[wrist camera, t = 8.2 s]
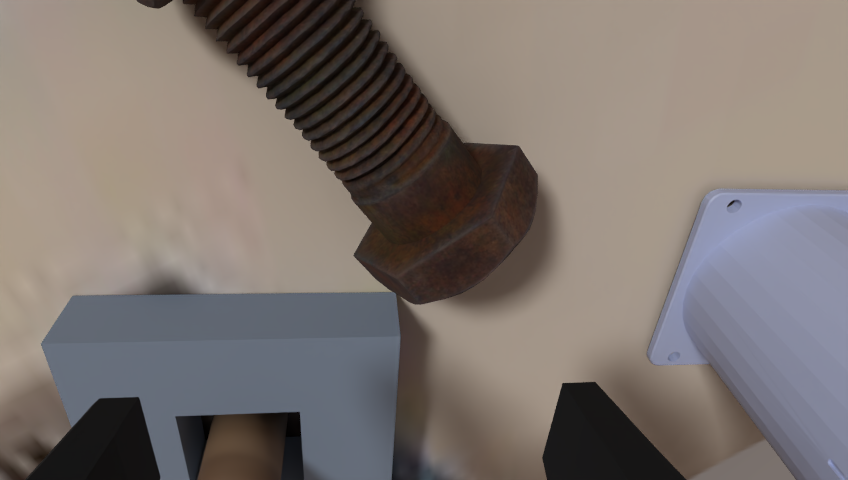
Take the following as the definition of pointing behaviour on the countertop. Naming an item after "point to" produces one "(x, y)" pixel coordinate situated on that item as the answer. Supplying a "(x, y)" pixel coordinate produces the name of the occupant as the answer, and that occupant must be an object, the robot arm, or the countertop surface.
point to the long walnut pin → (245, 447)
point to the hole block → (240, 372)
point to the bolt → (383, 143)
